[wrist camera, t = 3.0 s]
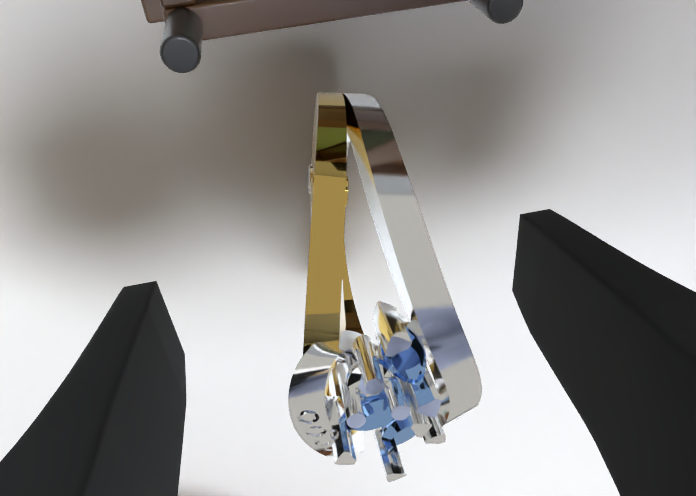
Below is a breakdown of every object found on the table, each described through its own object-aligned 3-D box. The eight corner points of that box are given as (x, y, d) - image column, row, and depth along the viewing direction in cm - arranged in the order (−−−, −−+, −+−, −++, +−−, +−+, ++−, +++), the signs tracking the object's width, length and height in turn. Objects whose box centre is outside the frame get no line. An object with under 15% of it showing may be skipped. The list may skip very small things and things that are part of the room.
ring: (258, 36, 13) (298, 267, 7) (402, 38, 14) (560, 253, 7) (262, 282, 17) (290, 566, 11) (372, 276, 18) (457, 543, 12)
